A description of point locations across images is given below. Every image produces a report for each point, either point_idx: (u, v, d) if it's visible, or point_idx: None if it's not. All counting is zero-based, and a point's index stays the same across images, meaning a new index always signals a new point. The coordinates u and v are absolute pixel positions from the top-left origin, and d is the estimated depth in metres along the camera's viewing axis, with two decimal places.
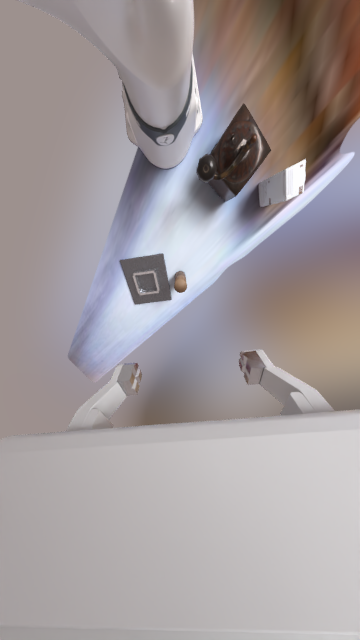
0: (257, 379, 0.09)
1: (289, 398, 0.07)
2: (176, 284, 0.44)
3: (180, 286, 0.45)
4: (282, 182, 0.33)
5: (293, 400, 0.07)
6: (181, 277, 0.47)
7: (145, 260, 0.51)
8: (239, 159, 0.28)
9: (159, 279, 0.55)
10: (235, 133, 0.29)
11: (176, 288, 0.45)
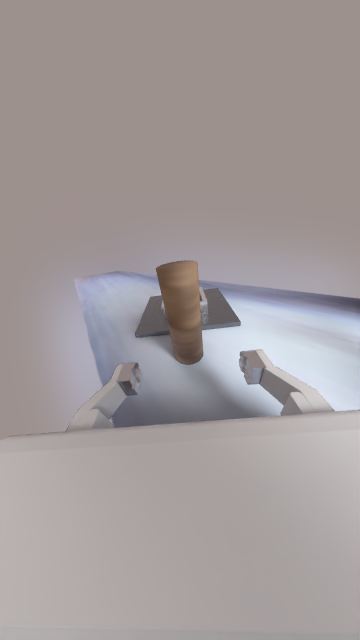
0: (257, 379, 0.09)
1: (289, 398, 0.07)
2: (185, 261, 0.14)
3: (177, 265, 0.13)
4: None
5: (293, 400, 0.07)
6: (199, 299, 0.15)
7: (221, 304, 0.29)
8: None
9: None
10: None
11: (172, 263, 0.15)
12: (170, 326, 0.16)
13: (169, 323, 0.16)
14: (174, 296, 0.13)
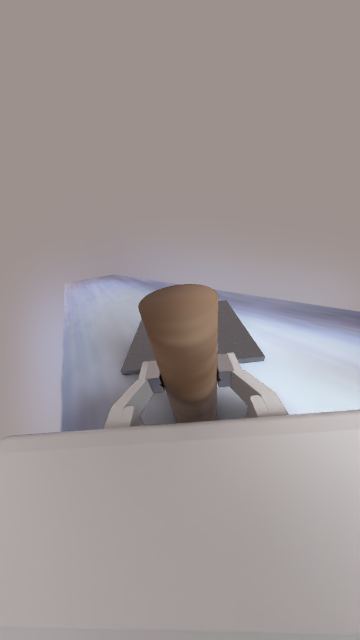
0: (227, 382, 0.10)
1: (250, 401, 0.07)
2: (193, 287, 0.08)
3: (179, 297, 0.07)
4: None
5: (252, 403, 0.07)
6: (216, 352, 0.08)
7: (234, 324, 0.23)
8: None
9: None
10: None
11: (170, 289, 0.08)
12: (168, 391, 0.09)
13: (165, 386, 0.09)
14: (174, 359, 0.07)
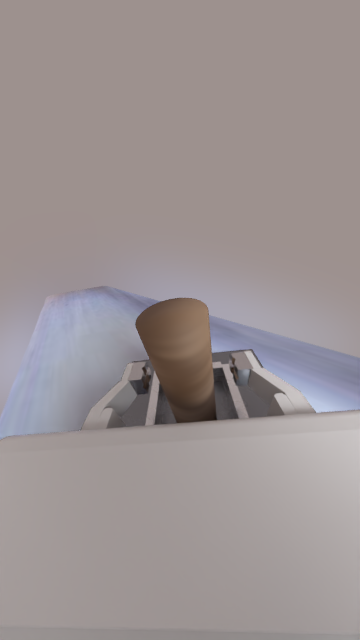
0: (245, 380, 0.10)
1: (273, 399, 0.07)
2: (186, 301, 0.09)
3: (172, 313, 0.08)
4: None
5: (276, 401, 0.07)
6: (211, 361, 0.09)
7: None
8: None
9: None
10: None
11: (166, 304, 0.09)
12: (167, 399, 0.10)
13: (165, 393, 0.10)
14: (170, 371, 0.07)
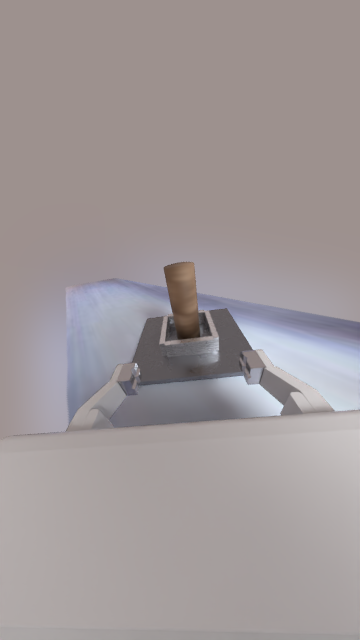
0: (257, 379, 0.09)
1: (289, 398, 0.07)
2: (185, 262, 0.19)
3: (179, 265, 0.18)
4: None
5: (293, 400, 0.07)
6: (195, 291, 0.19)
7: (235, 335, 0.23)
8: None
9: (191, 357, 0.21)
10: None
11: (175, 264, 0.19)
12: (174, 312, 0.20)
13: (173, 310, 0.20)
14: (177, 288, 0.18)
